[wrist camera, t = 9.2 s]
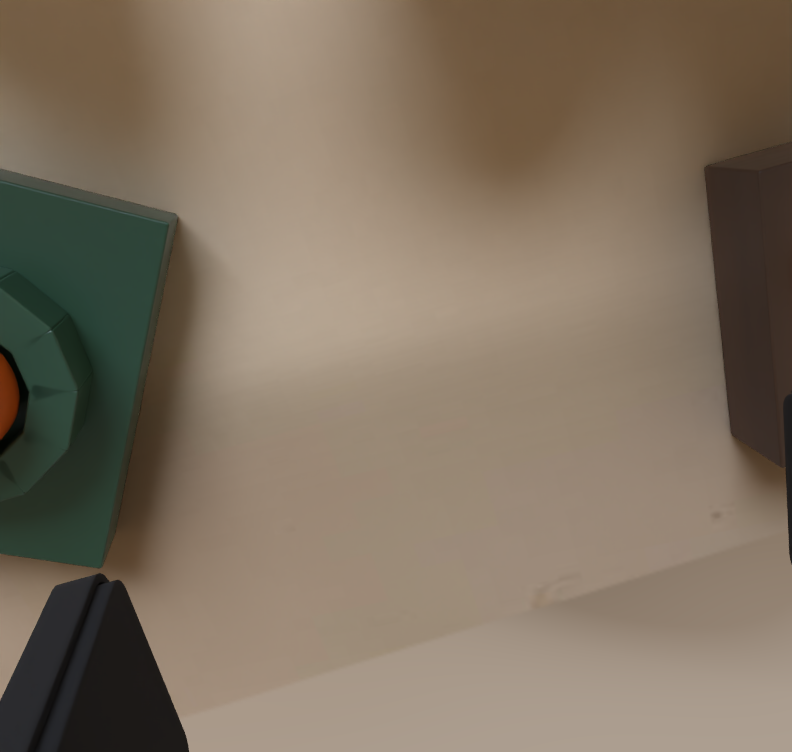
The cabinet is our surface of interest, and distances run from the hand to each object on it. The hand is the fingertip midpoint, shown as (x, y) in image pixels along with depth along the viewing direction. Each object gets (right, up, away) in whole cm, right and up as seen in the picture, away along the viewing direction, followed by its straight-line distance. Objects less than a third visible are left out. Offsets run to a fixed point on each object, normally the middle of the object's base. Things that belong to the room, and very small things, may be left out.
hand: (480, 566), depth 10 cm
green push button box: (-13, +3, +13) cm, 19 cm away
